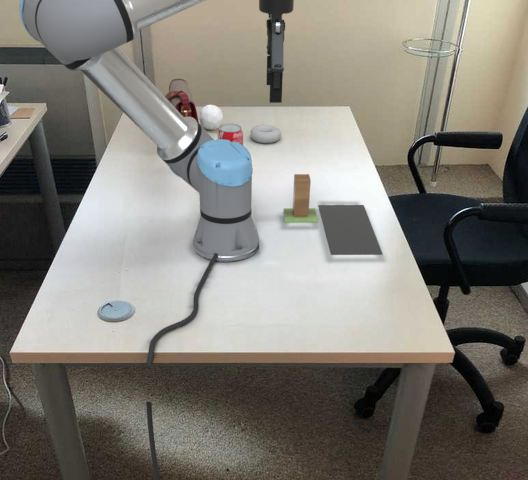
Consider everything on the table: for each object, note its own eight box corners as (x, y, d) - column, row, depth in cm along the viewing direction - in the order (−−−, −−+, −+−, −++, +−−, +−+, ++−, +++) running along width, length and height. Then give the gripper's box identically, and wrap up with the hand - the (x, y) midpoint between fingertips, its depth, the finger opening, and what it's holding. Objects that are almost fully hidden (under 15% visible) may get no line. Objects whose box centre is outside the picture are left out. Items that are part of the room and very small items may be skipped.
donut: (272, 132, 214) (245, 136, 210) (273, 122, 212) (245, 125, 208) (286, 142, 207) (257, 146, 203) (286, 132, 205) (258, 135, 201)
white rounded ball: (205, 137, 216) (190, 117, 212) (219, 123, 219) (205, 103, 215) (217, 131, 210) (201, 111, 206) (231, 117, 213) (216, 96, 209)
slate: (382, 260, 148) (383, 254, 148) (330, 260, 148) (330, 254, 147) (363, 210, 169) (363, 204, 168) (317, 210, 168) (317, 204, 167)
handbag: (162, 125, 217) (158, 70, 206) (194, 124, 219) (191, 69, 208) (169, 156, 195) (165, 97, 185) (204, 154, 197) (201, 96, 186)
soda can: (244, 168, 189) (244, 123, 182) (241, 177, 184) (241, 132, 176) (220, 166, 190) (219, 122, 182) (216, 176, 184) (215, 130, 176)
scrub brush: (317, 228, 160) (320, 182, 153) (284, 228, 160) (286, 182, 153) (314, 217, 165) (317, 172, 158) (283, 217, 165) (284, 172, 157)
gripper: (299, 2, 129) (294, 110, 142) (289, -19, 149) (285, 78, 162) (261, 1, 129) (260, 110, 142) (256, -19, 149) (255, 78, 162)
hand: (273, 93), depth 152 cm, fingers open, 13 cm apart
